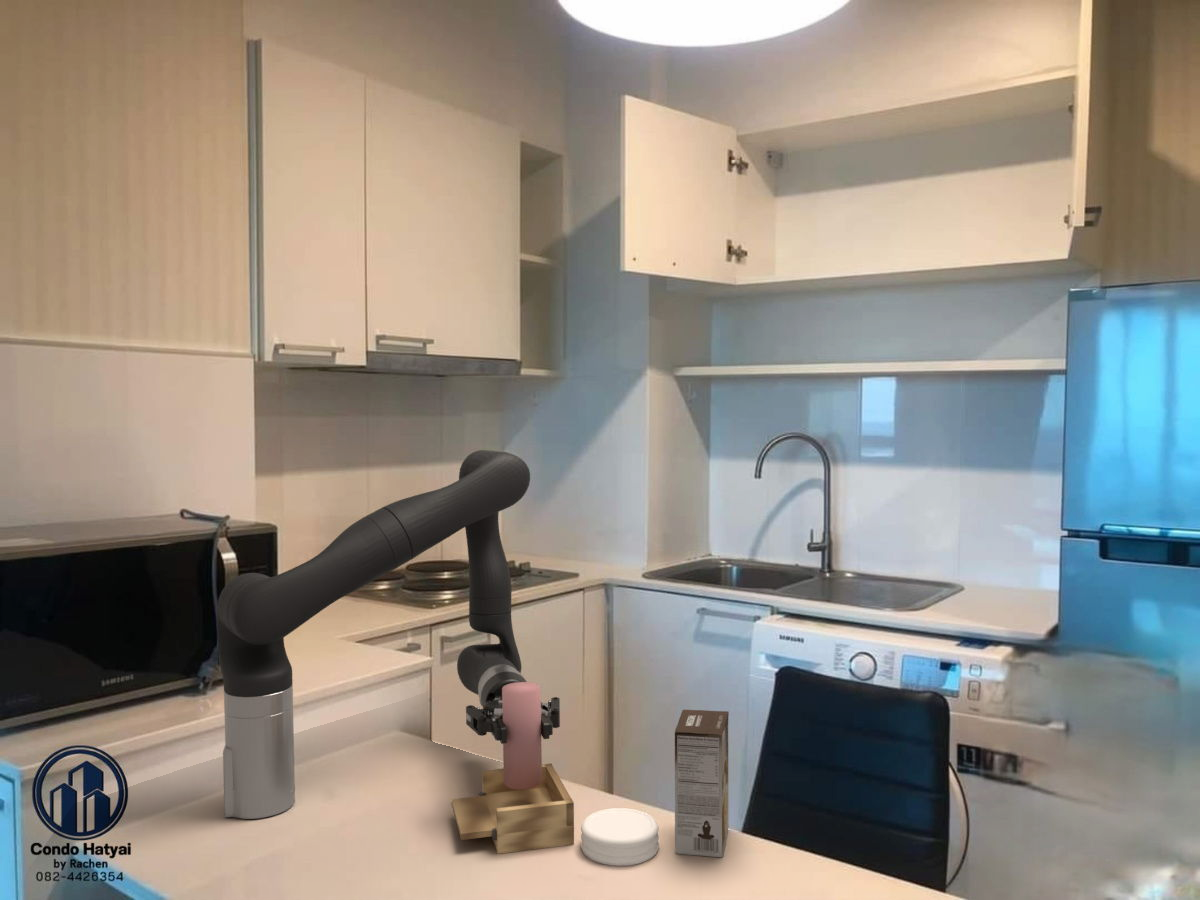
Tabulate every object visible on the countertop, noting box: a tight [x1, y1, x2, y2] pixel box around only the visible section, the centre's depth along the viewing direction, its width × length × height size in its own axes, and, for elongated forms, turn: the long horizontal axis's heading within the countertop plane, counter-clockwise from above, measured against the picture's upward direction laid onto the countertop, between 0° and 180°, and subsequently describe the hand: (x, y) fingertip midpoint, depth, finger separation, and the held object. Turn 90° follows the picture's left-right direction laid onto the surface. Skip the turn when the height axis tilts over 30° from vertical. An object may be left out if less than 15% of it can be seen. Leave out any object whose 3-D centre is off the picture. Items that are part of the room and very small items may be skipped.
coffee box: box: [674, 709, 729, 858], centre depth 123 cm, size 9×6×16 cm
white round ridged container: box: [580, 807, 660, 867], centre depth 122 cm, size 10×10×4 cm
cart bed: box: [451, 763, 575, 855], centre depth 127 cm, size 14×14×6 cm
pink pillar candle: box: [502, 681, 543, 790], centre depth 128 cm, size 5×5×13 cm
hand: (525, 733), depth 125 cm, fingers closed on pink pillar candle, 5 cm apart
